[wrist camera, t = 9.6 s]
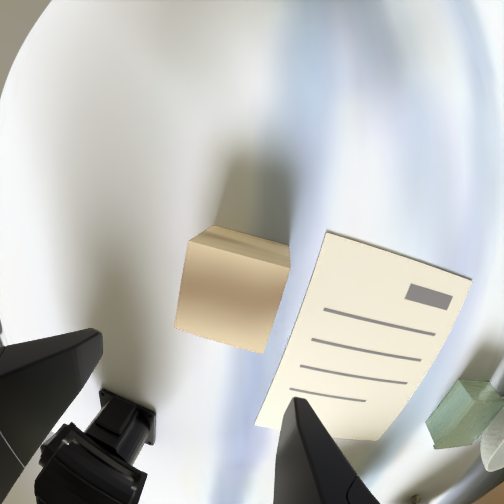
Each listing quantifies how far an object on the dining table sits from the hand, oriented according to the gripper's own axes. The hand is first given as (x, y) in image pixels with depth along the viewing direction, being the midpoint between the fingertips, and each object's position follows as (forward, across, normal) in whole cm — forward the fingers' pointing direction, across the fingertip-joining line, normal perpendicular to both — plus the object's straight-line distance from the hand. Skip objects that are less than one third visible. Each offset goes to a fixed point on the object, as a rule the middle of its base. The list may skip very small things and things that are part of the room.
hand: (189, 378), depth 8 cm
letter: (+11, -11, +5) cm, 16 cm away
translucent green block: (+11, -25, +8) cm, 29 cm away
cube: (+11, 0, 0) cm, 11 cm away
